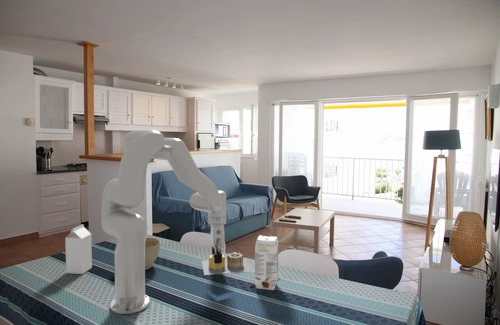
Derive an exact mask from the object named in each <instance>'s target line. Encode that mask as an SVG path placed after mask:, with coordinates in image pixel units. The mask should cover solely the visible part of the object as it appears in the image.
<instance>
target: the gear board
mask: <svg viewBox="0 0 500 325" xmlns="http://www.w3.org/2000/svg"><path fill="white" fill-rule="evenodd" d="M233 253H234V257H237V253H238V252H233ZM201 266H202V271H203V275H204V276H212V275H213V276H214V275H224V274H225V275H226V274H240V273H251V272H253V270H252V267H251V266H250V265H249V262H248V260H247V259H246V257H243V265H242V267H239V268H230V267H229V266H227V258H225V267H224V268H222V269H216V270H213V269H212V268H209V259H207V260H201Z"/></svg>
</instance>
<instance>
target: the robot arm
mask: <svg viewBox="0 0 500 325" xmlns="http://www.w3.org/2000/svg"><path fill="white" fill-rule="evenodd" d="M123 144H124V147H125V149H126V150H125V151H124V153H123V154H122V157H121V160H120V163H119V168H118V170H119V171H118V178H117V177H114V178H113V179H111V180H109V181H108V182H107V183H106V185H105V187H104V189H103V191H102V201H101V202H102V203H101V221H100V222H101V228H102V229H103V232H105V234H106V235H108V236H110V237H113V238H116V239H117V242H116V243H117V244H116V246H115V250H114V257H113V258H114V292H115V293H114V299H112V301H111V302H110V306H109V308H110V310H111V311H112V313H116V314H119V315H128V314H129V315H130V314H134V313H138V312H141V311H143V310H144V309H146V308H148V306H149V305H150V304H151V299H150V296H148V295H147V294H146V270H145V240H146V237H147V234H148V224H147V221H146V220H145V218H144V217H143V216H142V215H140V214H139V213H136V212H132V211H129V209H131V210H133V209H138V208H140V207H141V206H142V205H143V203H144V201H145V196H146V179H147V169H148V165H149V163H150V162H151V160H152V159H155V160H161V161H162V160H164V161H167V162H168V163H169V165H170V167H171V169H172V171H173V172H174V174H175V175H176V177H177V179H178V180H179V182H181V183H182V184H184V186H187V187H188V188H190V189H193V190H194V191H195V193H193V194H192V195H191V196H190V198H189V205H190V207H191V208H193V209H194V210H196V211H201V212H205V213H208V214H207V215H208V217H207V219H208V220H207V221H208V223H207V224H208V225H210V241H211V255H212V254H214V263H215V264H218V263H222V255H223V250H222V249H225V245H226V244H225V225H226V224H227V193H226V191H224V190H218V187H216V184H215V183H214V182H213V181H212V180H211V179H210V178H209V177H208V176H207V175H206V174H205V173H203V171H201V170H200V169H199V168H198V165H197V163H196V161H195V160H194V158H193V156H192V154H191V153H190V151H189V149H188V147H187V145H186V143H185V142H184V141H183V140H182V139H179V138H176V137H165V136H164V134H163V133H162V132H160V131H158V130H153V129H144V130H143V129H141V130H140V129H139V130H138V129H137V130H131V131H130V132H128V133H127V134H126V135H125V137H124V140H123Z"/></svg>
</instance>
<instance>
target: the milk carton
mask: <svg viewBox="0 0 500 325" xmlns="http://www.w3.org/2000/svg"><path fill="white" fill-rule="evenodd" d="M64 244H65V273H66V274H77V275H83V274H85V273H86V272H88V271H89V270H91V269H92V268H93V259H92V258H93V257H92V256H93V255H92V254H93V252H92V233H91V232H90V231H89V230H88V229H87V228H85V225H84V224H80V225H78V226H76V227H74V228H72V230H70V233H69V234H68V235H67V236H66V237H65V243H64Z"/></svg>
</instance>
